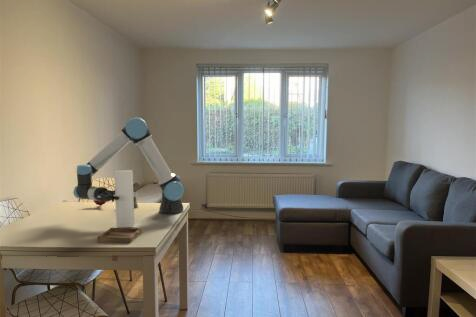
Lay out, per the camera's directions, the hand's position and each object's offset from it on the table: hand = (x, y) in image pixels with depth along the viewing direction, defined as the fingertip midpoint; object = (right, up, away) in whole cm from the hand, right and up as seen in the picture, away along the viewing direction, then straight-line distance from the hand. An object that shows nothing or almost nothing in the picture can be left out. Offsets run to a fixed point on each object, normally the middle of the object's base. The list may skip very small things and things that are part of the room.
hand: (131, 196), depth 195 cm
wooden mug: (-14, -13, +49) cm, 53 cm away
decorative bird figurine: (-35, -13, +51) cm, 63 cm away
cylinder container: (-4, -16, +3) cm, 17 cm away
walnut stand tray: (-2, -19, -13) cm, 23 cm away
